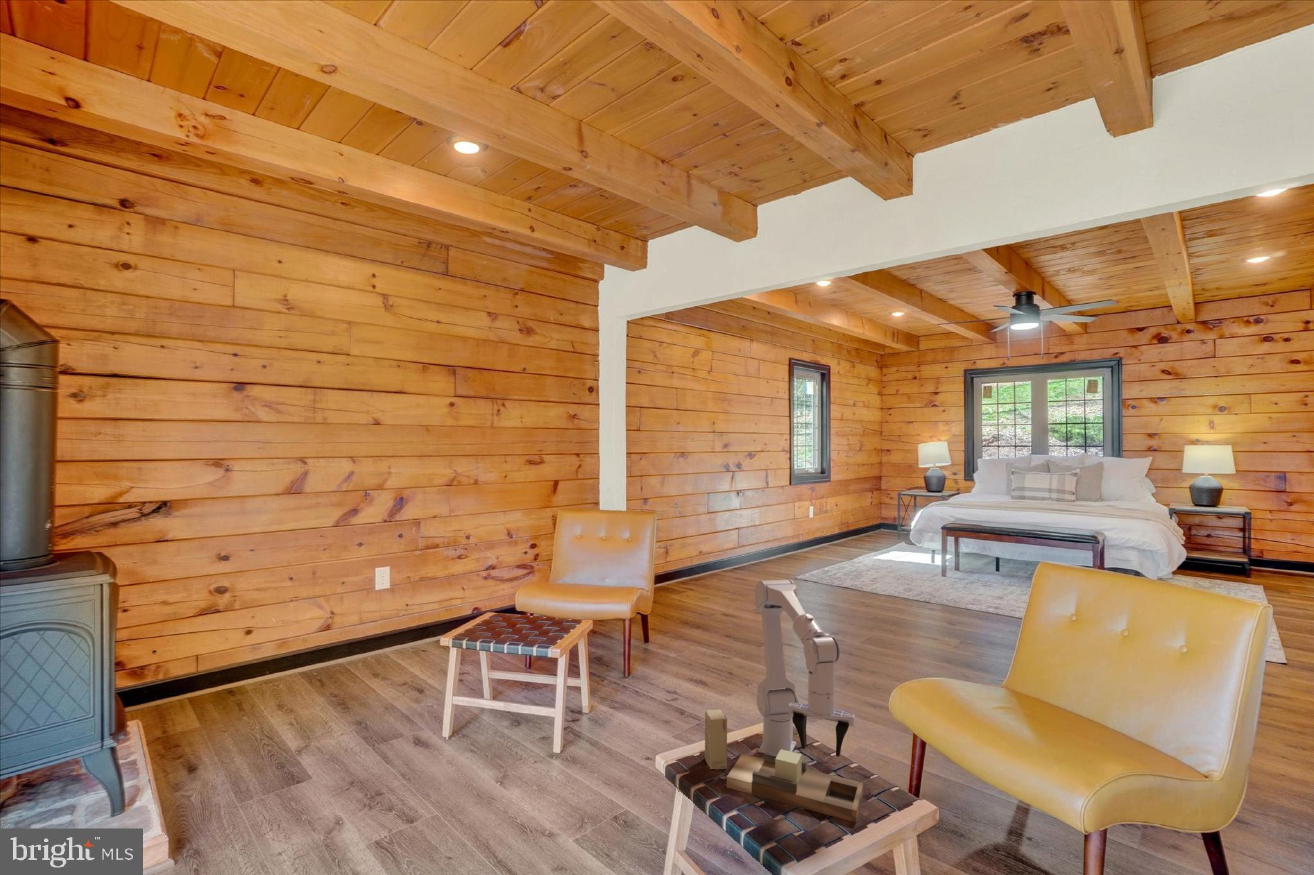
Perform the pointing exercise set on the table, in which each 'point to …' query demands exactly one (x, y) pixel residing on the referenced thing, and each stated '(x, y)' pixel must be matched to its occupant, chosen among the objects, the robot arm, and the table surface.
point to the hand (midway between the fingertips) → (820, 750)
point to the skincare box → (716, 739)
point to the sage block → (788, 765)
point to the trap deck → (797, 787)
